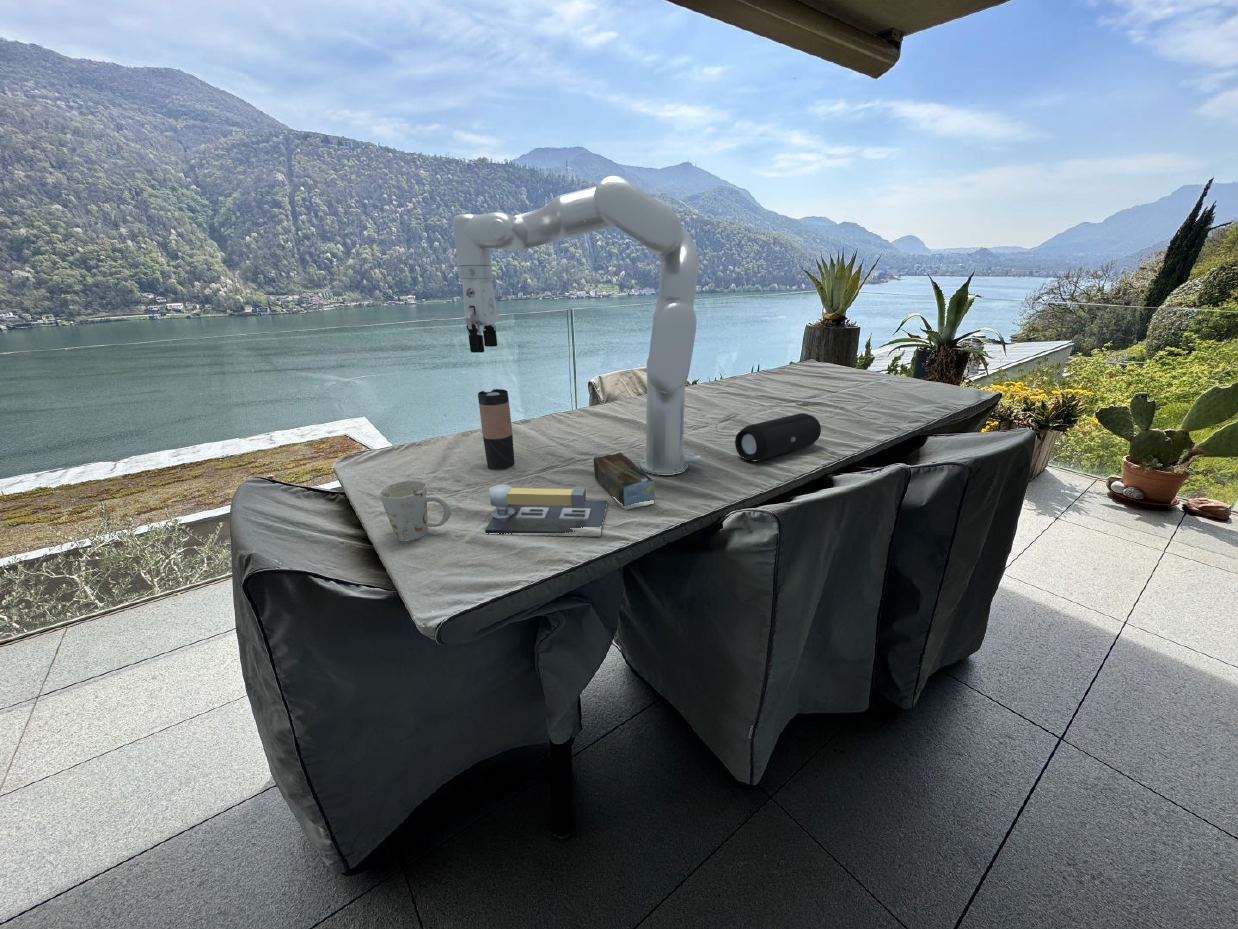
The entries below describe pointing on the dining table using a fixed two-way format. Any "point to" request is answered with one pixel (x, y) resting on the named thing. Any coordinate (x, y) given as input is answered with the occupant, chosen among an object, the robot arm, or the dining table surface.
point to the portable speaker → (777, 436)
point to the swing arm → (537, 496)
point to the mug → (410, 508)
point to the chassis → (545, 518)
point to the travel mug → (496, 428)
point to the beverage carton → (623, 479)
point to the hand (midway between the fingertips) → (484, 349)
